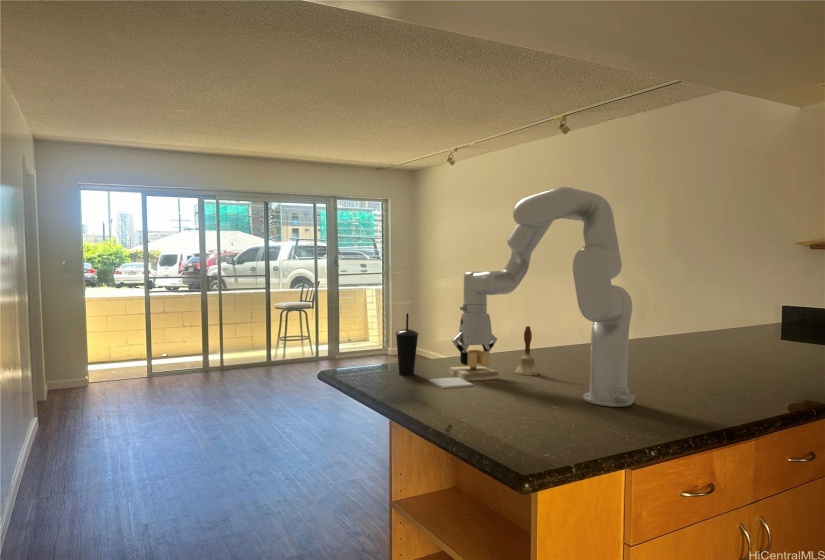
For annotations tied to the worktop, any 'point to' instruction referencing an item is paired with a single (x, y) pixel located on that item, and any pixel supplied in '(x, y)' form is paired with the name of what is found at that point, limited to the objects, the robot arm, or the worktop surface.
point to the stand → (473, 373)
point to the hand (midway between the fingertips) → (474, 363)
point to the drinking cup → (406, 349)
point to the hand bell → (527, 357)
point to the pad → (450, 382)
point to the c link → (477, 358)
